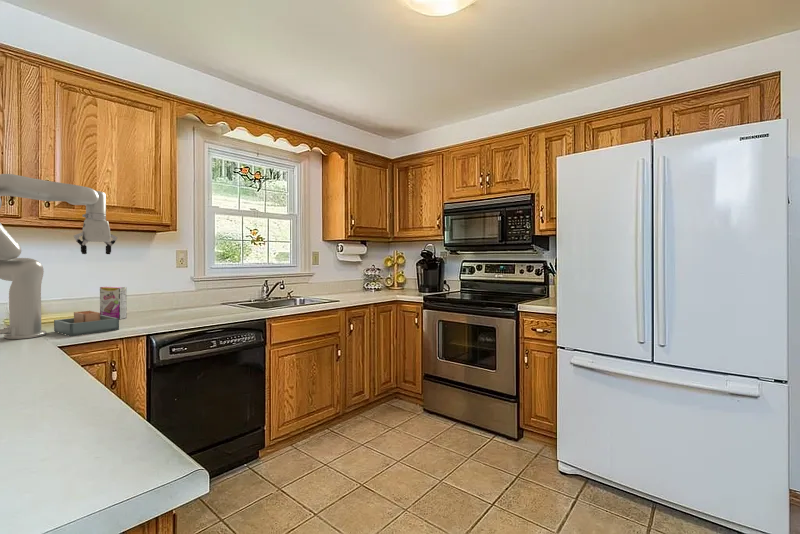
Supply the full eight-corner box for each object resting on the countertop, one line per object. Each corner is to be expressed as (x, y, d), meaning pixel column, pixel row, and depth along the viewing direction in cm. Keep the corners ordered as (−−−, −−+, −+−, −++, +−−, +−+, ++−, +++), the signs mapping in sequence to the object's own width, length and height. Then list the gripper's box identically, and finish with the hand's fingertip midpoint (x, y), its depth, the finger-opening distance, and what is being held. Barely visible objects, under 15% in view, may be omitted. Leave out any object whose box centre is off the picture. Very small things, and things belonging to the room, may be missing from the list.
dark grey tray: (69, 336, 166) (69, 324, 166) (54, 331, 175) (54, 320, 175) (119, 329, 182) (118, 318, 182) (102, 325, 190) (102, 315, 190)
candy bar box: (99, 319, 208) (99, 286, 207) (107, 317, 213) (107, 286, 212) (119, 319, 207) (119, 287, 206) (127, 318, 212) (127, 286, 211)
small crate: (83, 330, 173) (83, 314, 173) (74, 328, 178) (73, 312, 178) (100, 328, 178) (100, 312, 178) (90, 326, 183) (90, 310, 183)
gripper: (77, 215, 182) (77, 254, 183) (120, 218, 197) (120, 254, 197) (70, 216, 186) (70, 253, 187) (113, 219, 201) (113, 254, 201)
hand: (96, 254), depth 192 cm, fingers open, 9 cm apart
